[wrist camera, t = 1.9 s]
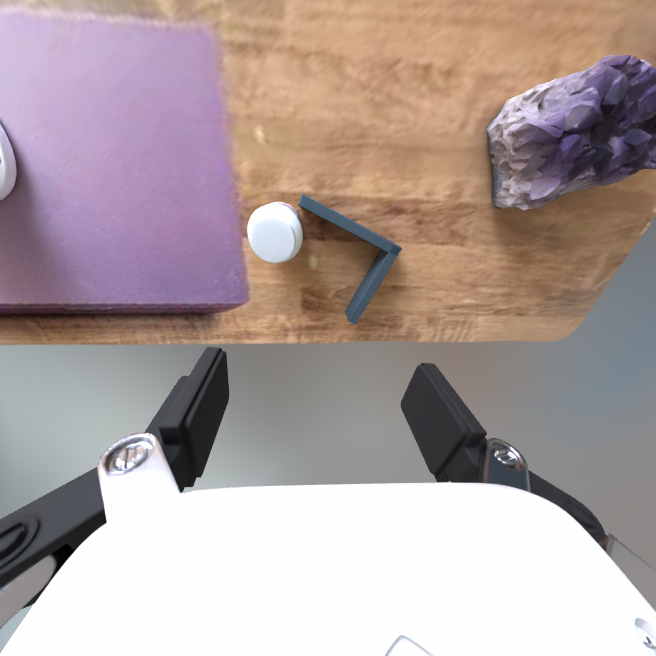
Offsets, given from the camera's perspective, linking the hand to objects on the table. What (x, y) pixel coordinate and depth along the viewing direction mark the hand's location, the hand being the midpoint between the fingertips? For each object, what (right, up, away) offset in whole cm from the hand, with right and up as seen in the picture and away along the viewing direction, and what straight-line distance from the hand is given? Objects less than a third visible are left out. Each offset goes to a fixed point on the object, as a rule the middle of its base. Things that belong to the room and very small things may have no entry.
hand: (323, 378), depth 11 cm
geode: (+27, +24, +16) cm, 40 cm away
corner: (+1, +11, +20) cm, 23 cm away
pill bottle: (-6, +15, +17) cm, 24 cm away
